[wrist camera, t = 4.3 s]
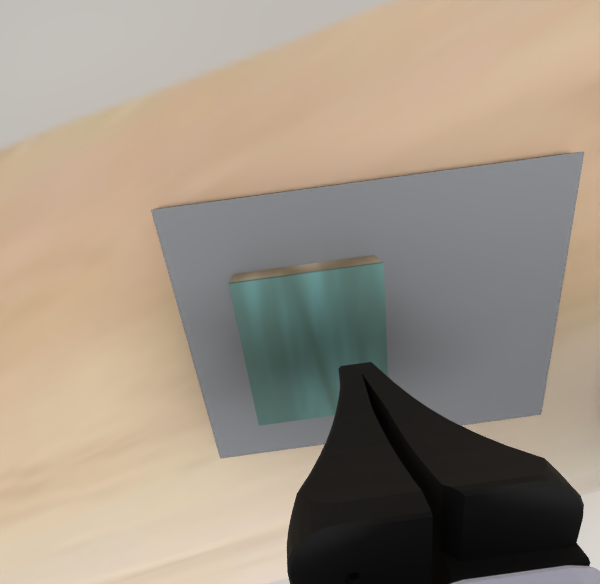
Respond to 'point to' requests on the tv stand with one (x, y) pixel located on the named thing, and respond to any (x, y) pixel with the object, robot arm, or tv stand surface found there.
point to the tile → (308, 332)
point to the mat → (391, 285)
